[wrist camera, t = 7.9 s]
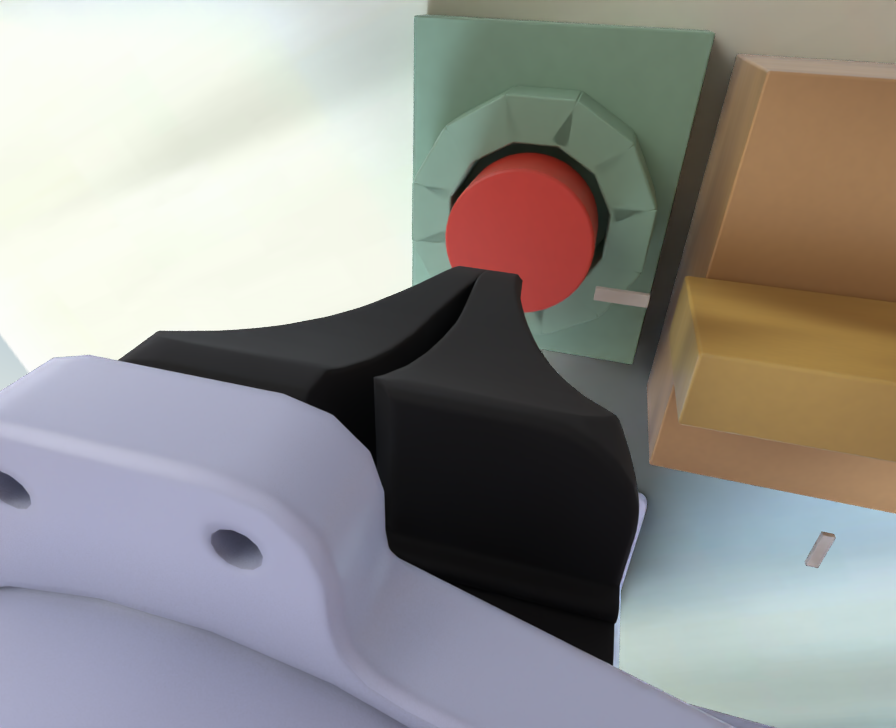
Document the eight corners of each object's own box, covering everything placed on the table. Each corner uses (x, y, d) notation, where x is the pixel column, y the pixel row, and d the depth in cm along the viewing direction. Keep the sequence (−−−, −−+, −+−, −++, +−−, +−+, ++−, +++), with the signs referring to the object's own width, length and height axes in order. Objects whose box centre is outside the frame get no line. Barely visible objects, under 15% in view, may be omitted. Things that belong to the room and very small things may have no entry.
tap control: (632, 348, 21) (632, 394, 19) (421, 313, 23) (395, 352, 20) (710, 30, 16) (725, 36, 13) (426, 14, 17) (391, 17, 15)
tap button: (585, 294, 18) (580, 324, 16) (458, 276, 19) (441, 302, 17) (610, 159, 16) (608, 178, 14) (465, 145, 16) (447, 160, 15)
